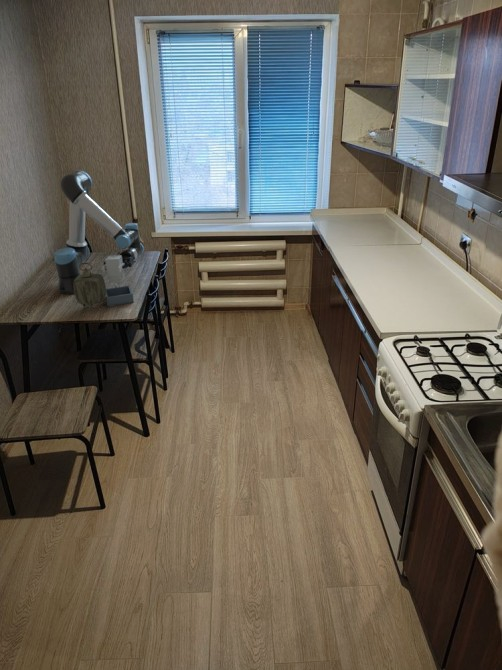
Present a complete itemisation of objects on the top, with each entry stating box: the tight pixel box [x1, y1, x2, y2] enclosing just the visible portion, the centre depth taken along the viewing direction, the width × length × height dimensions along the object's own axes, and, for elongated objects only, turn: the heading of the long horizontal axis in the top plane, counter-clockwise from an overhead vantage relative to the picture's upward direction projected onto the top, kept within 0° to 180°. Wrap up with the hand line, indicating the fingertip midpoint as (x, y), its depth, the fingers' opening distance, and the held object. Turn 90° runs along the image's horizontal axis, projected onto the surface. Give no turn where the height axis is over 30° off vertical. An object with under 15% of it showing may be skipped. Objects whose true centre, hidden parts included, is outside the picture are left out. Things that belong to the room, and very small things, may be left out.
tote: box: [105, 285, 135, 307], centre depth 267 cm, size 14×14×5 cm
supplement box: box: [104, 254, 126, 283], centre depth 261 cm, size 7×7×13 cm
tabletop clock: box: [73, 262, 107, 311], centre depth 253 cm, size 14×9×25 cm, turn 92°
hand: (111, 269), depth 256 cm, fingers closed on supplement box, 8 cm apart
